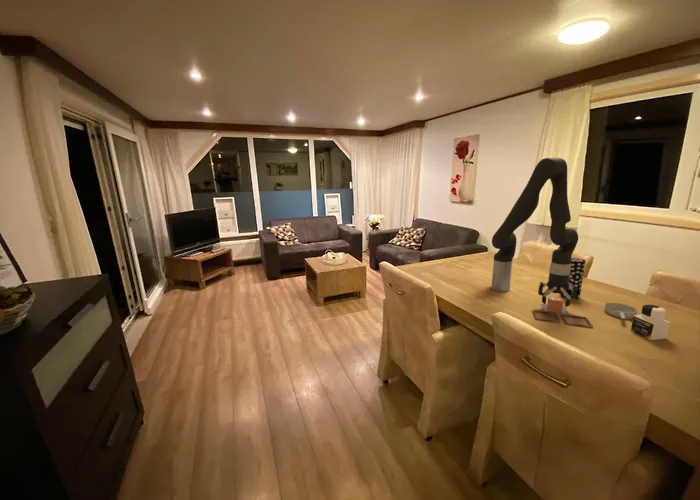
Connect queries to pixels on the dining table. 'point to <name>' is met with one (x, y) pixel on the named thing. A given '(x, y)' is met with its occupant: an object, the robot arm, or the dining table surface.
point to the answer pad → (545, 308)
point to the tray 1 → (545, 316)
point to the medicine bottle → (651, 323)
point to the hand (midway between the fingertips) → (555, 304)
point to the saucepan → (624, 310)
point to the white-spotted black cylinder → (575, 276)
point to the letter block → (555, 304)
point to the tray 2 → (576, 321)
